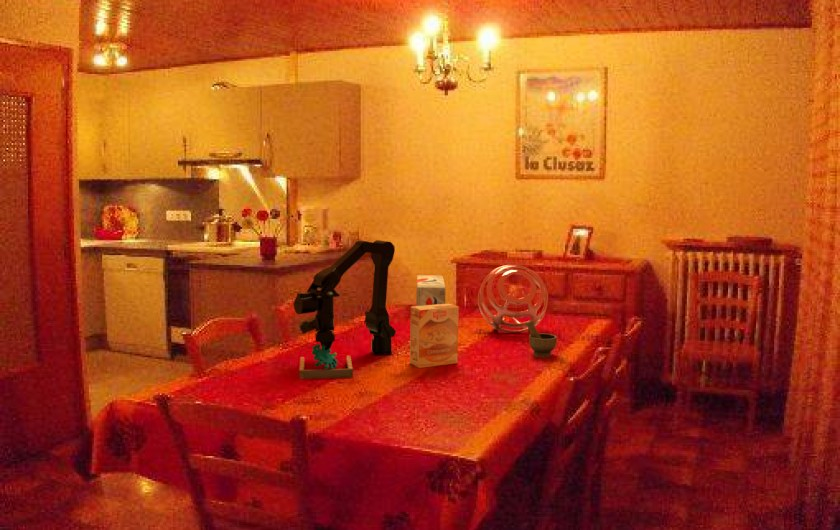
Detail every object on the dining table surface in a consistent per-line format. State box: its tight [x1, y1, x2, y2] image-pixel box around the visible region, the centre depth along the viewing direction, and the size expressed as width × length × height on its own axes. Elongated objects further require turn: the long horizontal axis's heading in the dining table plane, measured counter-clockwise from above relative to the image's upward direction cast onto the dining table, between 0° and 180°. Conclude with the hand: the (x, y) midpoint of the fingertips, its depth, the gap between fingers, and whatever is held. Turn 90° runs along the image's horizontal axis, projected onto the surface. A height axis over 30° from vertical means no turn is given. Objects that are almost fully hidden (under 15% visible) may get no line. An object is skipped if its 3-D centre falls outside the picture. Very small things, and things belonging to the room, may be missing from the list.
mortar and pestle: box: [526, 320, 558, 359], centre depth 262 cm, size 11×9×12 cm
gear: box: [311, 343, 338, 369], centre depth 243 cm, size 11×6×10 cm
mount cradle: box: [298, 355, 354, 380], centre depth 240 cm, size 16×17×2 cm
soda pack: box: [416, 274, 446, 306], centre depth 344 cm, size 41×13×14 cm, turn 0°
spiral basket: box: [477, 264, 549, 334], centre depth 301 cm, size 28×28×27 cm
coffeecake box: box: [409, 303, 460, 369], centre depth 249 cm, size 15×7×20 cm, turn 117°
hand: (325, 356), depth 249 cm, fingers closed
